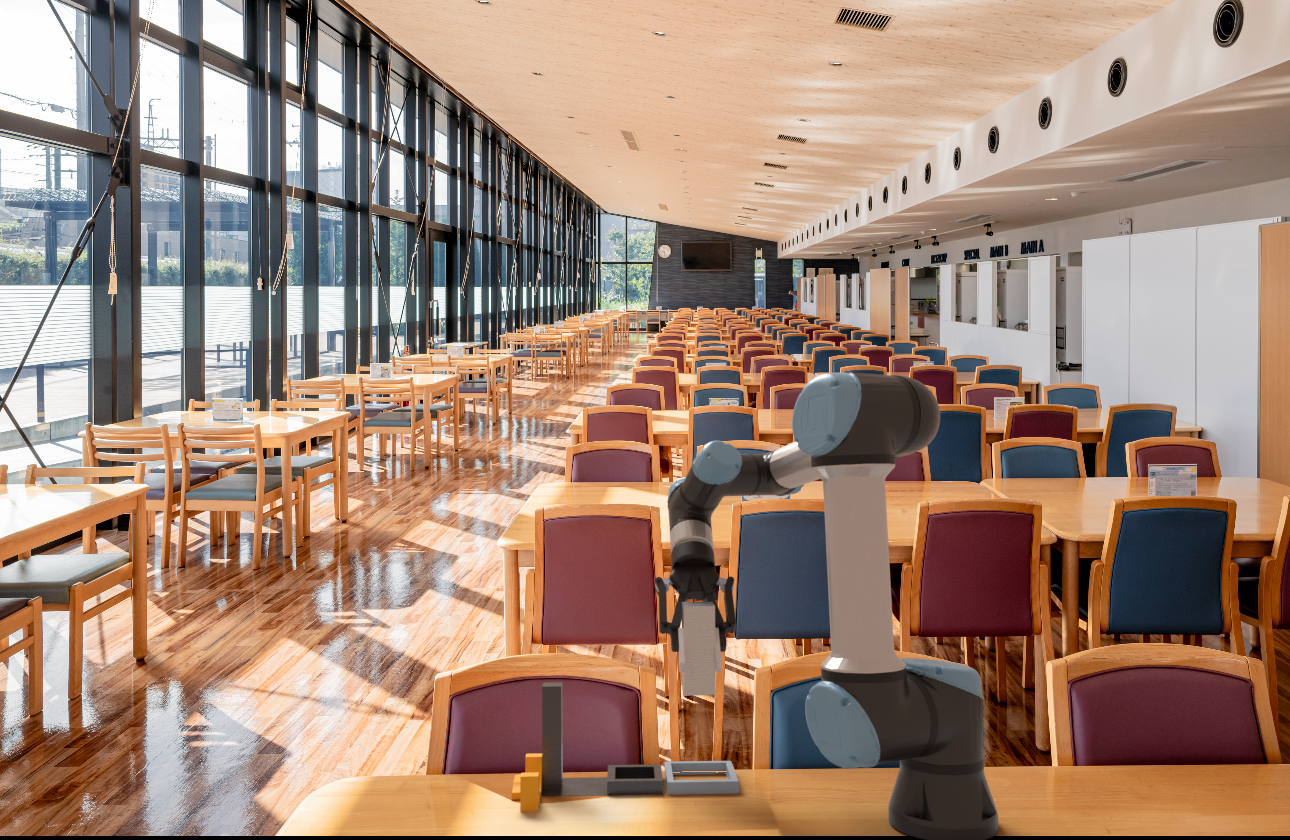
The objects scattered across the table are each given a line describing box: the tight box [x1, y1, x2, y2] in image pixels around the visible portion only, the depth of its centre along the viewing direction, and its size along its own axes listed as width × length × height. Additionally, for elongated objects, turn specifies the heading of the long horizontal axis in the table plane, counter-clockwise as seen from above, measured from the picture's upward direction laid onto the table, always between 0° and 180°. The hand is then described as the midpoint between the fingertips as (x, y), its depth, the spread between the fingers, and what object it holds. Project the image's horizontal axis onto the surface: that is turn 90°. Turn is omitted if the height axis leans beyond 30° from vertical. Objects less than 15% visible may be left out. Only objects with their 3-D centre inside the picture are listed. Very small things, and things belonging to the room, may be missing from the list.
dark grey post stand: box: [541, 681, 665, 797], centre depth 160 cm, size 19×9×17 cm, turn 91°
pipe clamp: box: [511, 752, 542, 813], centre depth 155 cm, size 12×4×6 cm, turn 2°
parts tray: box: [664, 760, 740, 796], centre depth 161 cm, size 11×11×3 cm
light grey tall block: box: [681, 601, 717, 697], centre depth 163 cm, size 5×5×14 cm
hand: (700, 667), depth 159 cm, fingers closed on light grey tall block, 5 cm apart
